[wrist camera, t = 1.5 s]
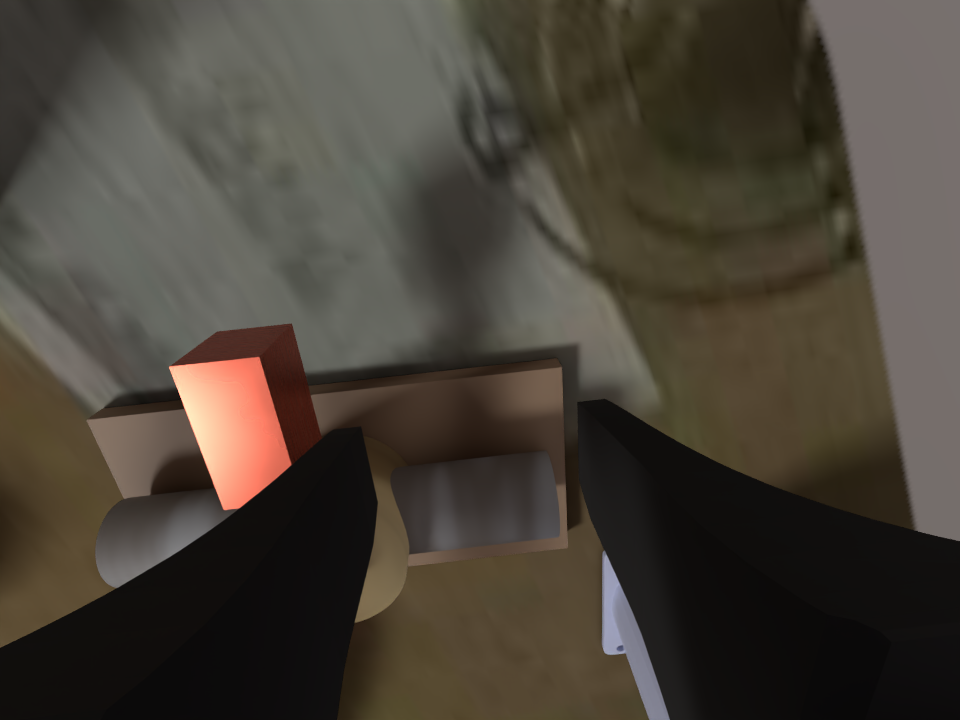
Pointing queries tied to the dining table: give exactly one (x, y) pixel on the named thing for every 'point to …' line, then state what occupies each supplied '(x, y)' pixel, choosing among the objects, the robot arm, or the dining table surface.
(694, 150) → the dining table surface
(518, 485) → the valve stand
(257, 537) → the robot arm
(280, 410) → the valve lever
